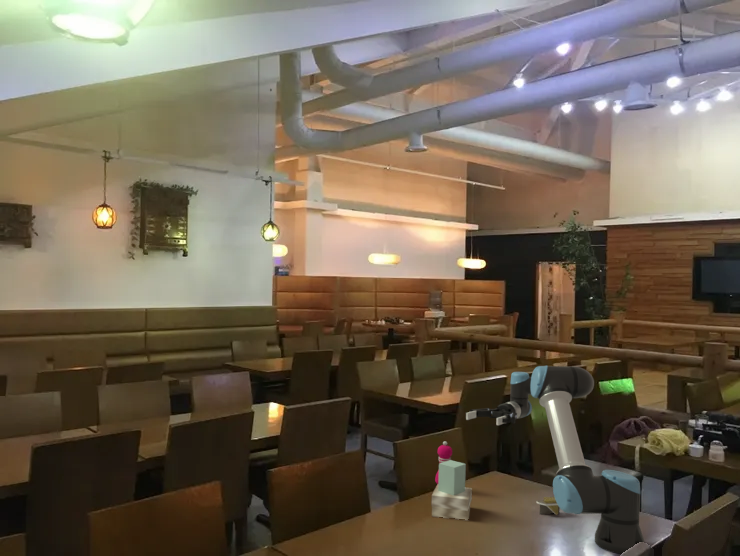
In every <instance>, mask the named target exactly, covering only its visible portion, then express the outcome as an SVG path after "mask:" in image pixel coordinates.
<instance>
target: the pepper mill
mask: <svg viewBox="0 0 740 556" xmlns="http://www.w3.org/2000/svg"><path fill="white" fill-rule="evenodd" d="M437 455H438V462H439V463H442V462H445V461H449V460H452V455H453V448H452V447H451V446H450V445H448V442H447V441H443V442H442V444H441V445H440V446H438V448H437ZM438 480H439V469H438V470H437V472H436V474H435V479H434V481H435V483H436V484H438Z"/></svg>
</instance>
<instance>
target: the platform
mask: <svg viewBox="0 0 740 556" xmlns="http://www.w3.org/2000/svg"><path fill="white" fill-rule="evenodd" d="M536 504H538V505H539V515H551V514H550V513H554V514H553V515H556V516H558V514H560V510H561V509H560V507H559V506H558V504H557V502H556V500H555V497H554V496H550V498H547V496H545V497H543V500H536Z"/></svg>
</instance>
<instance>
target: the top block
mask: <svg viewBox="0 0 740 556" xmlns="http://www.w3.org/2000/svg"><path fill="white" fill-rule="evenodd" d="M436 484H437V483H436ZM472 494H473V488H472V487H466V486H465V491H464V492H462V493H459V494H456V495H450V494H447V493H444V492H441V491H438V484H437V485H436V486H435V488H434V490H433V492H432V494H431V508H432V507H440V508H448V509H457V510H465V511H468V509H469V506H470V507H471V503H472V500H473V499H472V498H473V496H472Z"/></svg>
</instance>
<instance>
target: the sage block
mask: <svg viewBox="0 0 740 556" xmlns="http://www.w3.org/2000/svg"><path fill="white" fill-rule="evenodd" d="M466 467H467V466H466V463H464V462H460V461H455V460H452V459H451V460H449V461H445V462H442V463H440V462H439V463H438V470H439V480H438V491H441V492H444V493H447V494H450V495H456V494H459V493H462V492H464V491H465V487H466V472H467V471H466Z"/></svg>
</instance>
